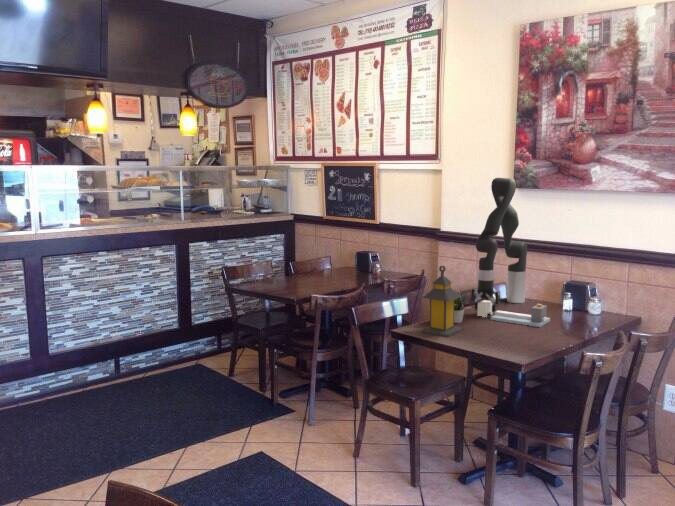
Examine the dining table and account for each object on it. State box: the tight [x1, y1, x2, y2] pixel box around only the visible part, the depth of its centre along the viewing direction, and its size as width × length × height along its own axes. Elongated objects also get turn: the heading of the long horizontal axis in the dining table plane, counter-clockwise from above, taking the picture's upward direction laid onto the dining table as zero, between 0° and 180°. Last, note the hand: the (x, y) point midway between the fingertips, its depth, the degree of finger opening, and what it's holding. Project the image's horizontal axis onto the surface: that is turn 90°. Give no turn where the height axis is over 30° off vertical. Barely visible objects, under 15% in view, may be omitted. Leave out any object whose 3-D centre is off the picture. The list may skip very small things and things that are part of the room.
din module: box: [477, 299, 494, 318], centre depth 300 cm, size 8×4×7 cm, turn 142°
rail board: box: [490, 303, 551, 328], centre depth 288 cm, size 14×24×9 cm, turn 52°
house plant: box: [454, 288, 472, 324], centre depth 286 cm, size 14×14×16 cm
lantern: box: [421, 265, 463, 338], centre depth 271 cm, size 14×14×30 cm
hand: (485, 310), depth 299 cm, fingers open, 8 cm apart
